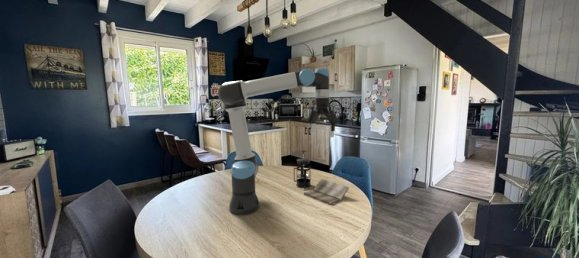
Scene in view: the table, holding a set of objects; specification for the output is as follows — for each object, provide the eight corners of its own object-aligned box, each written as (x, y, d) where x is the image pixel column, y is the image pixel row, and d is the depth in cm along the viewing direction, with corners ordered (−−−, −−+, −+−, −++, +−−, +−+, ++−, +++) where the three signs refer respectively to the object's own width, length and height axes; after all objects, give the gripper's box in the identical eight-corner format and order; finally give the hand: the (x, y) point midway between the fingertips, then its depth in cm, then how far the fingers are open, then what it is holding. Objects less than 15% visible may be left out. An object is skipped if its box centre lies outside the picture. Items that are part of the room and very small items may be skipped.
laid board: (303, 194, 142) (303, 192, 142) (312, 191, 147) (312, 188, 147) (330, 205, 127) (330, 202, 127) (339, 201, 132) (339, 198, 132)
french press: (309, 182, 163) (309, 148, 161) (313, 187, 154) (313, 151, 152) (292, 183, 162) (292, 149, 159) (295, 188, 152) (295, 152, 150)
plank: (314, 190, 147) (313, 189, 147) (322, 180, 152) (321, 178, 151) (340, 200, 132) (339, 199, 132) (348, 188, 136) (348, 186, 136)
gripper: (301, 98, 140) (302, 134, 143) (335, 96, 121) (335, 139, 124) (310, 98, 145) (311, 133, 147) (345, 97, 126) (344, 137, 128)
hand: (322, 136), depth 135 cm, fingers open, 13 cm apart
